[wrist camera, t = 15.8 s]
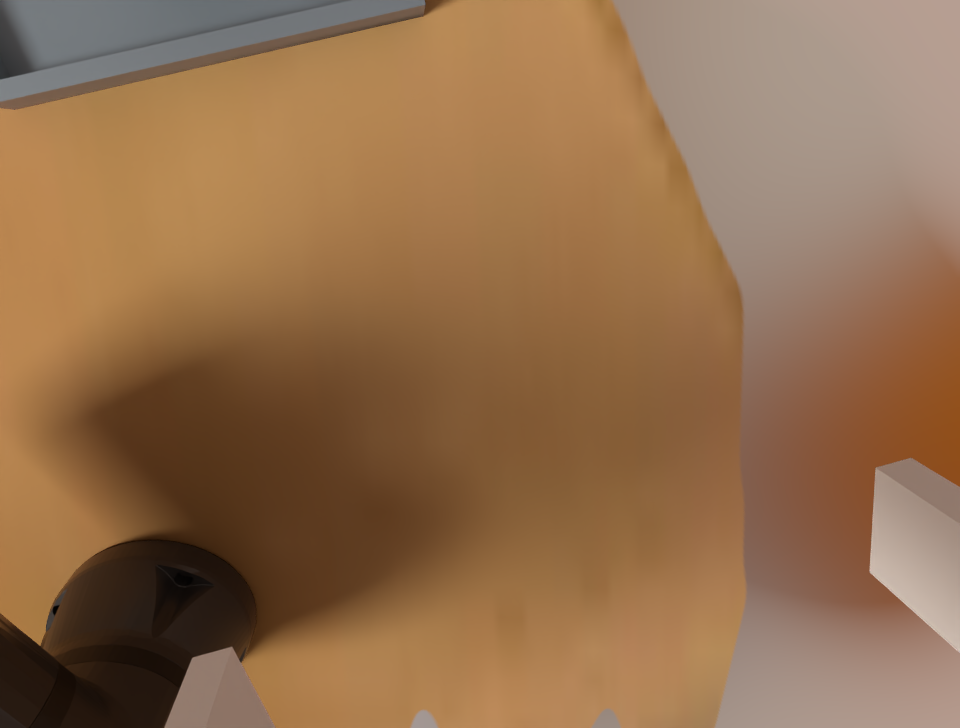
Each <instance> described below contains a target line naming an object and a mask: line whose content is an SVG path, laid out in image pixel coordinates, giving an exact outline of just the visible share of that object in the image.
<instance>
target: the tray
mask: <svg viewBox="0 0 960 728" xmlns="http://www.w3.org/2000/svg"><path fill="white" fill-rule="evenodd" d="M425 5H426V4H425V0H0V108H4V109H14V110H15V109H20V108H24V107H29V106H33V105H37V104H42V103H46V102H50V101H55V100H59V99H64V98H68V97H72V96H77V95H81V94H85V93H90V92H94V91H98V90H103V89H107V88H112V87H116V86H120V85H125V84H129V83H133V82H138V81H142V80H146V79H151V78H155V77H160V76H164V75H168V74H173V73H177V72H181V71H186V70H190V69H194V68H199V67H203V66H208V65H212V64H216V63H221V62H225V61H229V60H234V59H238V58H243V57H247V56H251V55H256V54H260V53H264V52H269V51H273V50H277V49H282V48H286V47H291V46H295V45H299V44H304V43H308V42H312V41H317V40H321V39H325V38H330V37H334V36H339V35H343V34H347V33H352V32H356V31H360V30H365V29H369V28H373V27H378V26H382V25H387V24H391V23H395V22H400V21H404V20H408V19H413V18H417V17H422V16H423V15H424V10H425Z"/></svg>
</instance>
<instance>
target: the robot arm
mask: <svg viewBox="0 0 960 728" xmlns="http://www.w3.org/2000/svg"><path fill="white" fill-rule="evenodd" d="M871 541H872V542H871V559H870V573H871V574H872V575H874V576H875V577H876V578H877V579H878V580H879V581H880V582H881V583H882V584H883V585H885V586H886V587H887V588H888V589H889V590H890V591H891V592H893V594H895V595H896V596H897V597H898V598H899V599H900V600H901V601H902V602H904V603H905V604H906V605H907V606H908V607H909V608H910V609H911V610H912V611H914V612H915V613H916V614H917V615H918V616H919V617H920V618H922V620H924V621H925V622H926V623H927V624H928V625H929V626H930V627H931V628H932V629H934V630H935V631H936V632H937V633H938V634H939V635H940V636H941V637H943V638H944V639H945V640H946V641H947V642H948V643H949V644H950V645H951V646H953V647H954V648H955V649H956V650H957V651H958V652H960V487H958V486H957V485H955V484H953V483H952V482H950V481H948V480H947V479H945V478H944V477H942V476H940V475H939V474H937V473H935V472H933V471H931V470H930V469H928V468H927V467H925V466H924V465H922V464H920V463H919V462H917V461H915V460H914V459H912V458H909V459H905V460H902V461H898V462H895V463H891V464H888V465H884V466H880V467H877V468H876V471H875V488H874V506H873V523H872V540H871ZM255 624H256V605H255V601H254V598H253V595H252V593H251V590H250V589H249V587H248V585H247V584H246V582H245V581H244V579H243V578H242V577H241V576H240V575H239V573H238V572H237V571H236V570H234V569H233V568H232V567H231V566H230V565H229V564H227V563H226V562H225V561H223V560H222V559H220V558H218V557H217V556H215V555H213V554H211V553H209V552H207V551H204V550H202V549H199V548H197V547H194V546H190V545H186V544H182V543H177V542H170V541H159V540H150V541H137V542H131V543H126V544H121V545H118V546H115V547H112V548H109V549H107V550H104V551H102V552H100V553H98V554H96V555H95V556H93V557H92V558H90V559H89V560H87V561H86V562H85V563H83V564H82V565H81V566H80V567H79V568H78V569H77V570H76V571H75V572H74V574H73V575H72V576H71V578H70V579H69V580H68V582H67V583H66V584H65V586H64V587H63V588H62V590H61V591H60V592H59V594H58V595H57V597H56V599H55V601H54V603H53V605H52V607H51V609H50V612H49V616H48V620H47V624H46V633H45V635H44V637H43V640H42V643H41V646H39V645H38V644H37V643H36V642H34V641H33V640H32V639H31V638H29V637H28V636H27V635H26V634H25V633H23V632H22V631H21V630H20V629H18V628H17V627H16V626H15V625H13V624H12V623H11V622H10V621H9V620H8V619H6V618H5V617H4V616H3V615H2V614H0V728H275V726H274V724H273V722H272V720H271V718H270V717H269V715H268V713H267V711H266V709H265V707H264V705H263V704H262V702H261V700H260V698H259V696H258V694H257V692H256V690H255V689H254V687H253V685H252V683H251V681H250V679H249V677H248V675H247V674H246V672H245V670H244V668H243V666H242V664H241V663H242V661H243V659H244V657H245V655H246V653H247V651H248V649H249V645H250V642H251V639H252V635H253V632H254V628H255Z"/></svg>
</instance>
